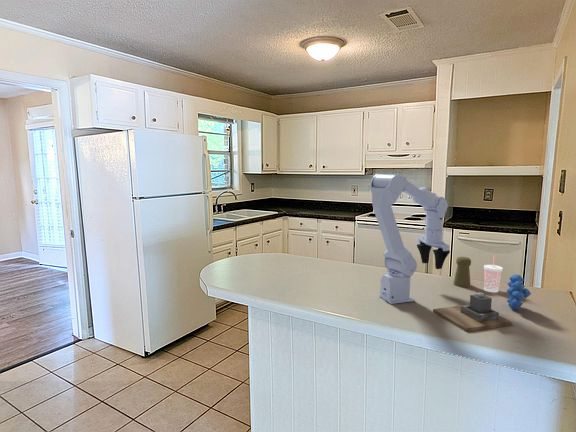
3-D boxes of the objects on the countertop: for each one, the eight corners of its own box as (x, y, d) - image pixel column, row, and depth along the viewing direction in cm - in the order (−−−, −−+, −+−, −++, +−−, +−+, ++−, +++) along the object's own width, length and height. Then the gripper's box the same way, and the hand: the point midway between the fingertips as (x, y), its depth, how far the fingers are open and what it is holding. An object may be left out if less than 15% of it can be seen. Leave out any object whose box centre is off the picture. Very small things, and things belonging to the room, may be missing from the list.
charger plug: (479, 319, 105) (481, 296, 104) (468, 313, 109) (470, 291, 108) (490, 317, 106) (492, 295, 105) (479, 312, 110) (481, 290, 109)
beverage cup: (494, 287, 135) (497, 251, 133) (504, 293, 129) (507, 255, 127) (478, 287, 135) (481, 251, 133) (488, 293, 129) (491, 255, 127)
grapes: (534, 319, 107) (538, 280, 106) (508, 315, 110) (511, 277, 108) (525, 305, 118) (528, 270, 116) (501, 302, 121) (504, 267, 119)
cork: (472, 288, 134) (474, 259, 133) (455, 286, 136) (457, 258, 134) (468, 282, 140) (470, 255, 139) (451, 281, 142) (453, 254, 140)
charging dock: (466, 331, 99) (467, 321, 99) (433, 312, 112) (433, 303, 112) (511, 324, 103) (512, 315, 103) (474, 306, 117) (475, 297, 116)
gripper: (457, 232, 123) (455, 270, 125) (430, 225, 137) (428, 260, 138) (440, 233, 121) (438, 272, 123) (414, 226, 135) (412, 261, 137)
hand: (431, 265), depth 130 cm, fingers open, 7 cm apart
